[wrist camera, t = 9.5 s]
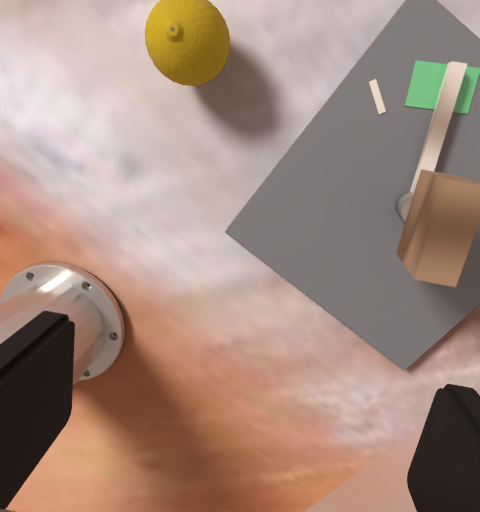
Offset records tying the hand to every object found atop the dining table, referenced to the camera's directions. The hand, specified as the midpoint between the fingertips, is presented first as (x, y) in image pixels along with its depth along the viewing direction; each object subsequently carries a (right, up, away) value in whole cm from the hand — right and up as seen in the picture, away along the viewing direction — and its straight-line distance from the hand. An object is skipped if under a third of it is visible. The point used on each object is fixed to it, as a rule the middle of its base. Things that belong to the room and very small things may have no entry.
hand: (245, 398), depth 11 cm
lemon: (-3, +20, +22) cm, 29 cm away
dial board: (+13, +8, +23) cm, 28 cm away
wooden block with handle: (+14, +11, +20) cm, 27 cm away
